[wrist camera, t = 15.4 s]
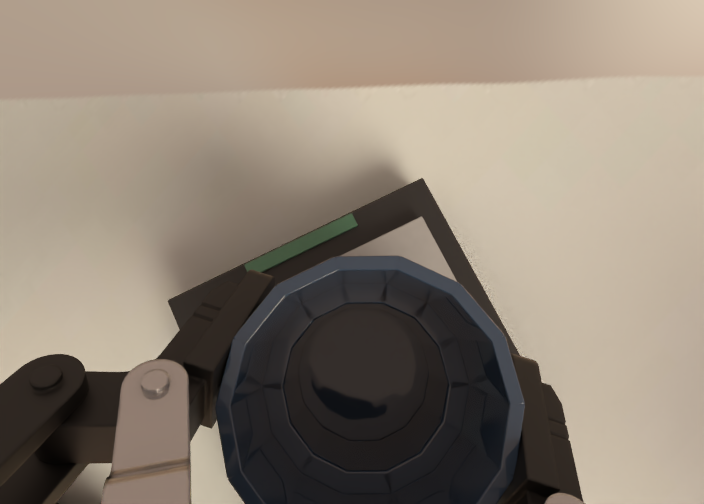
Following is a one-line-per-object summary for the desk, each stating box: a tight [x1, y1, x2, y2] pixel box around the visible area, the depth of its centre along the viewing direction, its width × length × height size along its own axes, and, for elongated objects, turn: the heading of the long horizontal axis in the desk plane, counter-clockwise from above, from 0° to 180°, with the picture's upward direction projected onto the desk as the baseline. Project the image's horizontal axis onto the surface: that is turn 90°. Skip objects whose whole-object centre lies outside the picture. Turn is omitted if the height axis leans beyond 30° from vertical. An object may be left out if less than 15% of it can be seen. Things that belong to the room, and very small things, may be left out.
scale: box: [168, 178, 520, 356], centre depth 18 cm, size 12×12×3 cm
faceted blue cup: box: [215, 255, 525, 504], centre depth 13 cm, size 7×7×7 cm
